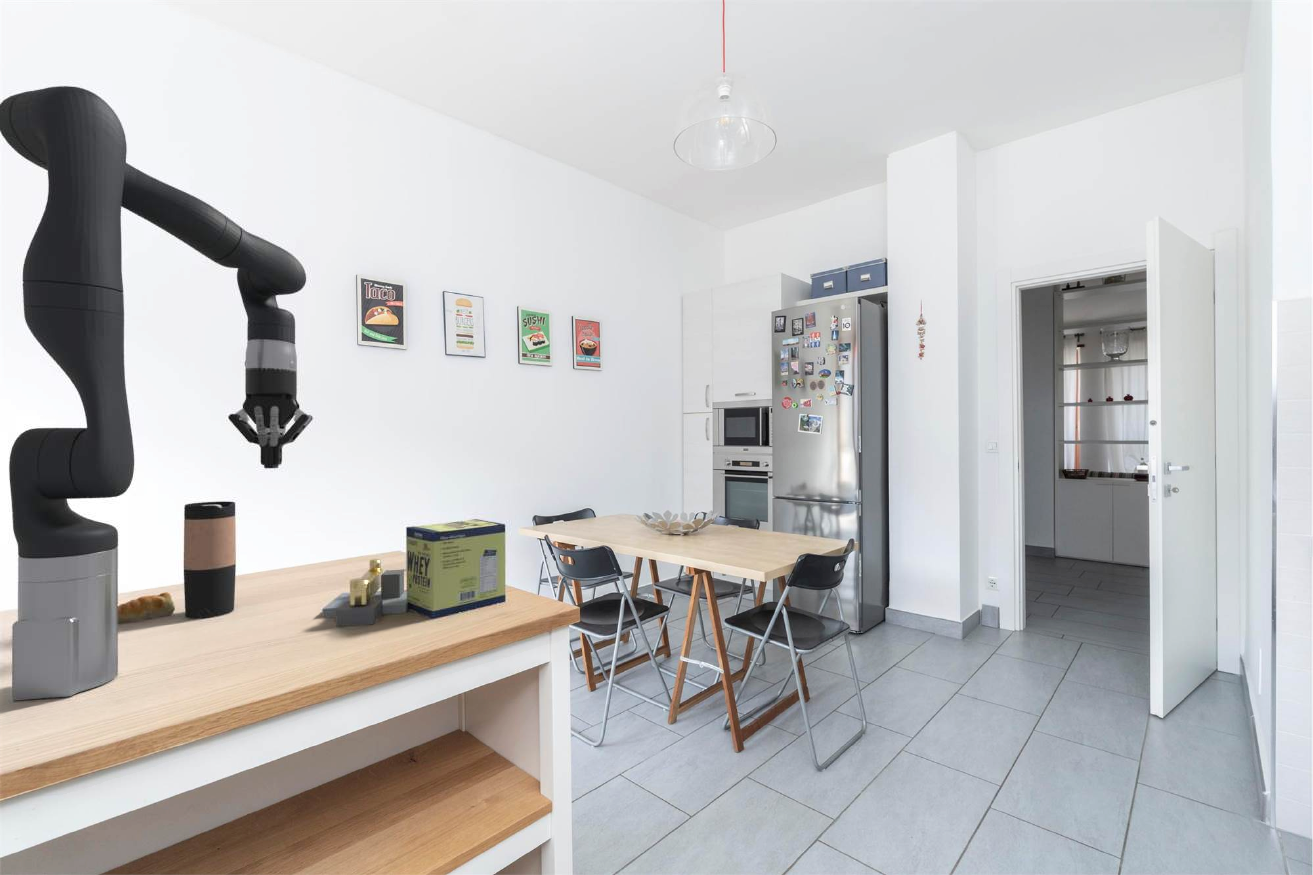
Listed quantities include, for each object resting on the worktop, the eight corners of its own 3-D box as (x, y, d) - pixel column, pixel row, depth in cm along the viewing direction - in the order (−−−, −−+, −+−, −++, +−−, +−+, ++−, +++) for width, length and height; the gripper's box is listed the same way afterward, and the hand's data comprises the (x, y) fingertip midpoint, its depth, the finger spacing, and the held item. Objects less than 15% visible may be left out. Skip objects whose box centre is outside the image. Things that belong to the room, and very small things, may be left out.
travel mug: (190, 609, 110) (190, 502, 110) (239, 605, 113) (240, 500, 114) (177, 621, 103) (177, 506, 103) (230, 615, 107) (230, 504, 107)
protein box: (404, 609, 111) (404, 526, 112) (478, 593, 123) (478, 518, 123) (432, 620, 105) (432, 532, 105) (507, 602, 116) (507, 522, 116)
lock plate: (398, 622, 103) (398, 587, 103) (310, 627, 100) (310, 592, 100) (417, 596, 119) (417, 566, 119) (342, 600, 117) (342, 570, 117)
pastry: (110, 628, 100) (110, 606, 100) (97, 622, 104) (97, 600, 104) (178, 614, 108) (178, 593, 108) (164, 609, 112) (164, 588, 112)
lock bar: (368, 604, 103) (368, 575, 103) (347, 605, 102) (347, 576, 102) (384, 583, 118) (384, 558, 118) (367, 584, 117) (367, 559, 117)
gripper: (320, 372, 108) (320, 467, 108) (239, 370, 106) (239, 467, 106) (305, 366, 101) (304, 468, 101) (217, 365, 98) (217, 469, 98)
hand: (271, 468), depth 103 cm, fingers closed
